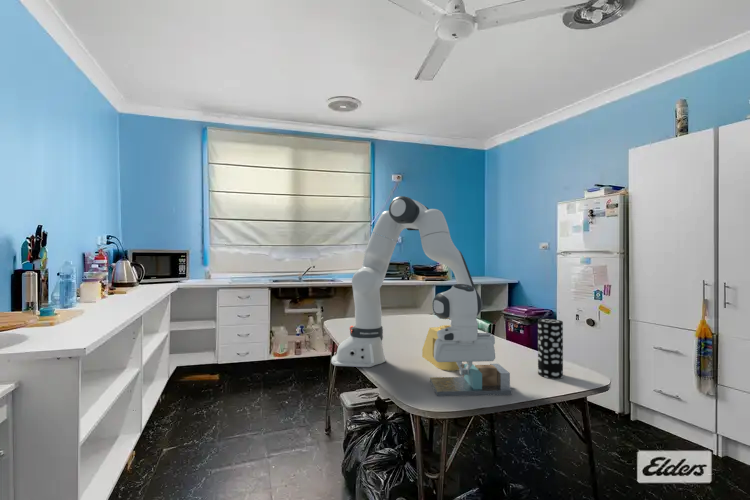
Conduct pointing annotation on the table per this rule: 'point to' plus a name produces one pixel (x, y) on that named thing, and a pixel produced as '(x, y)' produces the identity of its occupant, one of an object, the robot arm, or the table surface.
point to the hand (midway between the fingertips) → (464, 374)
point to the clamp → (429, 350)
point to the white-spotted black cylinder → (550, 348)
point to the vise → (462, 388)
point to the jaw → (474, 377)
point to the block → (488, 374)
